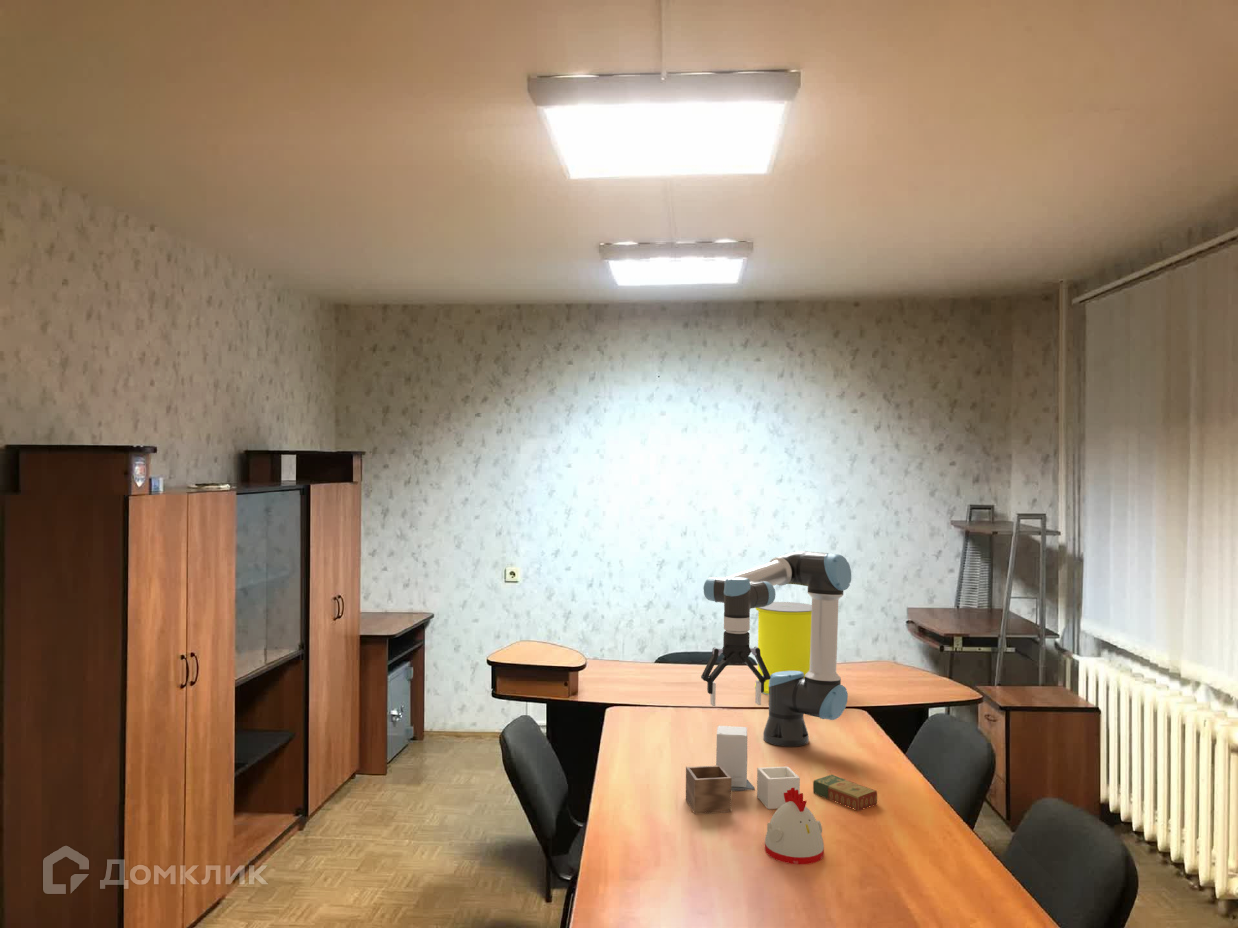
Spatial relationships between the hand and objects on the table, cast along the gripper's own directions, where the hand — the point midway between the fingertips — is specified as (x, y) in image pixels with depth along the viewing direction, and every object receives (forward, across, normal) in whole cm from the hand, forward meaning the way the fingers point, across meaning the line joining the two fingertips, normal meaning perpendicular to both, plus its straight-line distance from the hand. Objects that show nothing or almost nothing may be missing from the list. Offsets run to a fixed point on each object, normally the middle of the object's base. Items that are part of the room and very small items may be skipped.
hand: (735, 704), depth 247 cm
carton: (+24, -28, +13) cm, 39 cm away
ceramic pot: (+24, -8, +13) cm, 28 cm away
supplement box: (+23, 0, -2) cm, 23 cm away
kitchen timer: (+24, -2, +43) cm, 50 cm away
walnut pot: (+24, +12, +14) cm, 30 cm away
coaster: (+24, +1, -2) cm, 24 cm away
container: (+23, -54, -106) cm, 121 cm away
